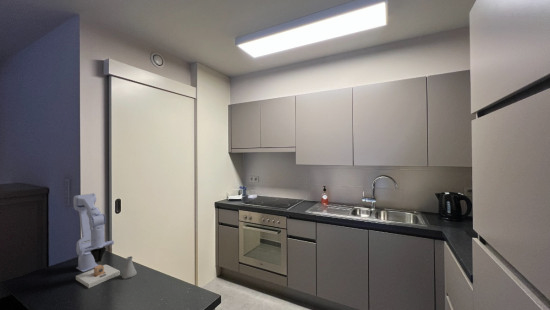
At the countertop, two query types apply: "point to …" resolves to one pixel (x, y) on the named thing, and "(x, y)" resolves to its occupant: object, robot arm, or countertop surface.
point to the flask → (129, 269)
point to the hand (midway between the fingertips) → (98, 261)
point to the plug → (98, 270)
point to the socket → (91, 281)
